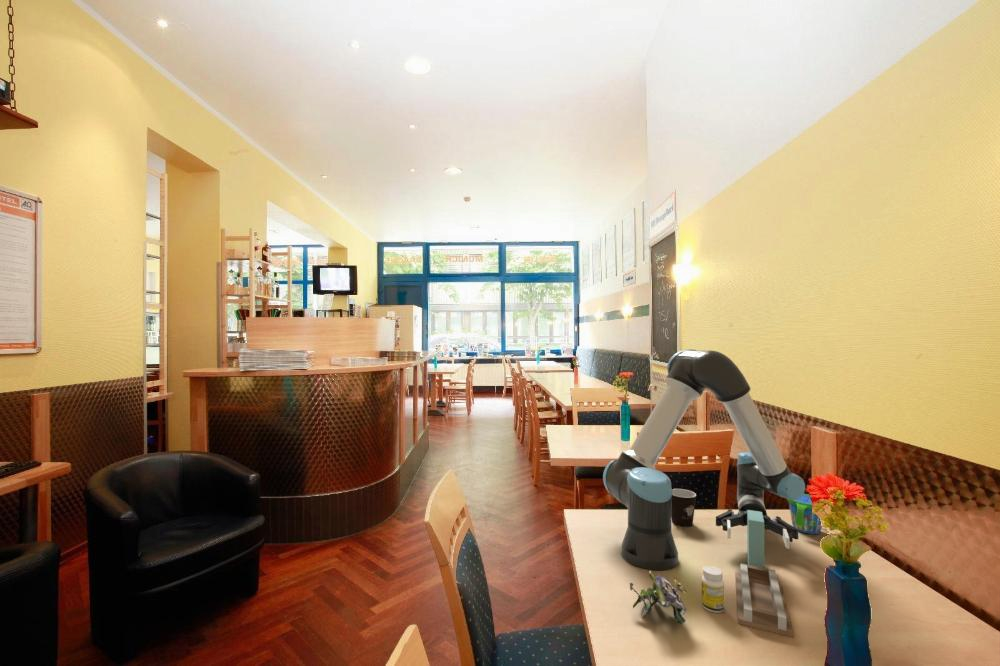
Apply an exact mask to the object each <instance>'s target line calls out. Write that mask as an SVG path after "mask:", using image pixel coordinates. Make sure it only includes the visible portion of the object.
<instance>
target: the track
mask: <svg viewBox="0 0 1000 666" xmlns="http://www.w3.org/2000/svg"><path fill="white" fill-rule="evenodd" d="M739 567H740V568H739V569H740V572H736V571H735V590H736V591H735V592H736V593H735V594H736V595H735V596H736V607H737V609H736V610H737V612H736V613H737V624H738V625H742V626H746V627H751V628H754V629H759V630H763V631H766V632H771V633H774V634H778V635H783V636H786V637H791V638H794V630H793V626H792V622H791V617H790V615H789V609H788V606H787V602H786V598H785V594H784V590H783V586H782V582H781V580H778V577H777V573H776V570H775V569H772V568H765V567H764V568H761V567H756V566H751V565H748V564H745V563H740V564H739Z"/></svg>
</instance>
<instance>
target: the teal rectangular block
mask: <svg viewBox="0 0 1000 666" xmlns="http://www.w3.org/2000/svg"><path fill="white" fill-rule="evenodd" d="M746 526H747V531H746V533H747V537H746V538H747V539H746V540H747V541H746V542H747V547H746V548H747V553H746V554H747V556H746V557H747V559H746V560H747V561H746V562H747V565H751V566H756V567H761V568H765V529H764V519H763V515H762V512H759V511H752V510H747V525H746Z"/></svg>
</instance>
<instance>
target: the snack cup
mask: <svg viewBox="0 0 1000 666" xmlns="http://www.w3.org/2000/svg"><path fill="white" fill-rule="evenodd" d="M809 495H810V494H807V493H803V495H802V496H801V497H800V498H799V499H796V500H789V499H787V498H786V500H787V502H788V505H789V512H790V518H791V519H790V520H791V525H792V526H793V527H794V528H796V529H798V532H800V533H803V534H808V535H818V534H820V533H821V531H822V529H823V528H822V527H823V525H822V526H821V521H820V518H819V517H818V516H817V515H816V514H814V513H812V501H811V499H810V496H809Z"/></svg>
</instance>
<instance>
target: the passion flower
mask: <svg viewBox="0 0 1000 666" xmlns="http://www.w3.org/2000/svg"><path fill="white" fill-rule="evenodd" d="M648 576H649V577H650V579H651V580H652V582H653V583H652V586H651V588H650V586H648V587H647V589H640V590H641V591H640V593H639V592H638V591H637V590H636V589H635V588H634V583H633V582H629V589H630V591H633V592H635V593H636V594H637V597H638V598H637V600H636V601H635V602H634V603H633V604H632V609H634V608H635V607H636V606H637V605H638V604H640V603H641V602H643V605H644V606H643V613H642V616H641V619H643V618H644V617H645V616H646V614H649V613H651V612H652V607H653V606H654V605H656V604H657V603H658V605H659V606H660V607H664V608H668V607H669V608H670V606H671V608H672V611H673V616H674V617H673V618H674V619H675V621H676V623H677V624H679V625H683V624H685V622H687V620H686V619H685V617H684V614H685V613H686V611H687V608H686V607H685V604H683V601H682V596H681V595H680V594H679V593H678V592H677V591H678V590H679V591H680V593H682V594H684V595H687V594H688V593H687V590H686V589H685V587H684V586H683V584H682V583H681V582H680V580H679V579H678V578H677V577H676V576H674V577H673V581H674V585H675V586H673V585H672V584H671V582H670V581H669V580H668V578H665V577H663V575H657V576H655V575H654V574H653V573H652V571H651V570H649V572H648ZM645 600H647V601H648V603H647V602H646V601H645Z"/></svg>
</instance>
